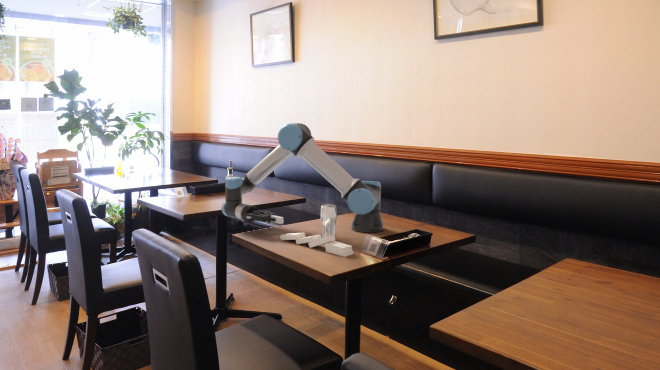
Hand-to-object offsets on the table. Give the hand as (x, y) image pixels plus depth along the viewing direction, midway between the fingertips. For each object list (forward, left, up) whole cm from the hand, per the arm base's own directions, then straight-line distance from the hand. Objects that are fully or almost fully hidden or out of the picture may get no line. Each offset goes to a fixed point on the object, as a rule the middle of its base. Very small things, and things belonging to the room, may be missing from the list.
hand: (282, 220), depth 210 cm
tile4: (-24, +12, -6) cm, 27 cm away
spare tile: (-1, 0, -7) cm, 7 cm away
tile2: (-10, +5, -7) cm, 13 cm away
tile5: (-24, +13, -8) cm, 28 cm away
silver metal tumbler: (-20, -3, -8) cm, 22 cm away
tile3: (-16, +9, -7) cm, 20 cm away
